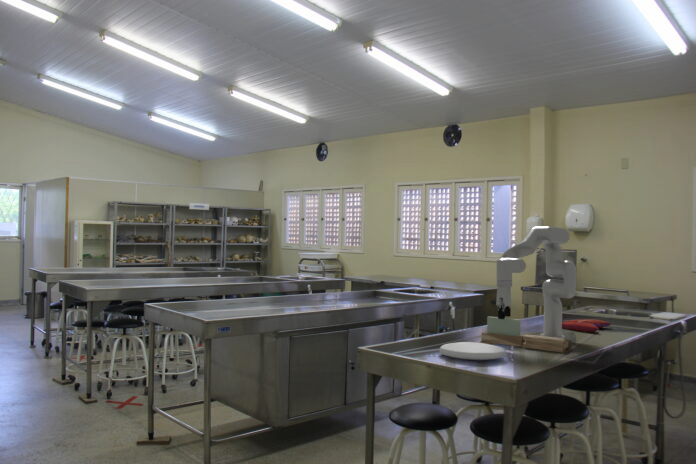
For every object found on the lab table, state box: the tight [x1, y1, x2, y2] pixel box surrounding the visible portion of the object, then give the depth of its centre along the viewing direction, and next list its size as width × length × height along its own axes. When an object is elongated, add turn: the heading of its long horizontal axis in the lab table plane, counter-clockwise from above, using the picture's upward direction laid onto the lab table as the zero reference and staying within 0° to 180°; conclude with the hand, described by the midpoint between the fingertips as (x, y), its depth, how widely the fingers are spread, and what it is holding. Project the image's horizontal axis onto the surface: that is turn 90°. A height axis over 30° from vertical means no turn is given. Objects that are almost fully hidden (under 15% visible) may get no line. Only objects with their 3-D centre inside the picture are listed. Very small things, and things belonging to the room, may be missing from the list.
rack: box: [522, 333, 573, 354], centre depth 254 cm, size 14×20×7 cm
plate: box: [439, 341, 507, 361], centre depth 234 cm, size 28×6×27 cm
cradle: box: [479, 330, 526, 347], centre depth 265 cm, size 10×20×5 cm, turn 57°
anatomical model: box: [562, 318, 612, 333], centre depth 326 cm, size 30×7×30 cm
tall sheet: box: [486, 316, 521, 337], centre depth 265 cm, size 2×16×12 cm, turn 57°
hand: (504, 317), depth 266 cm, fingers open, 9 cm apart
